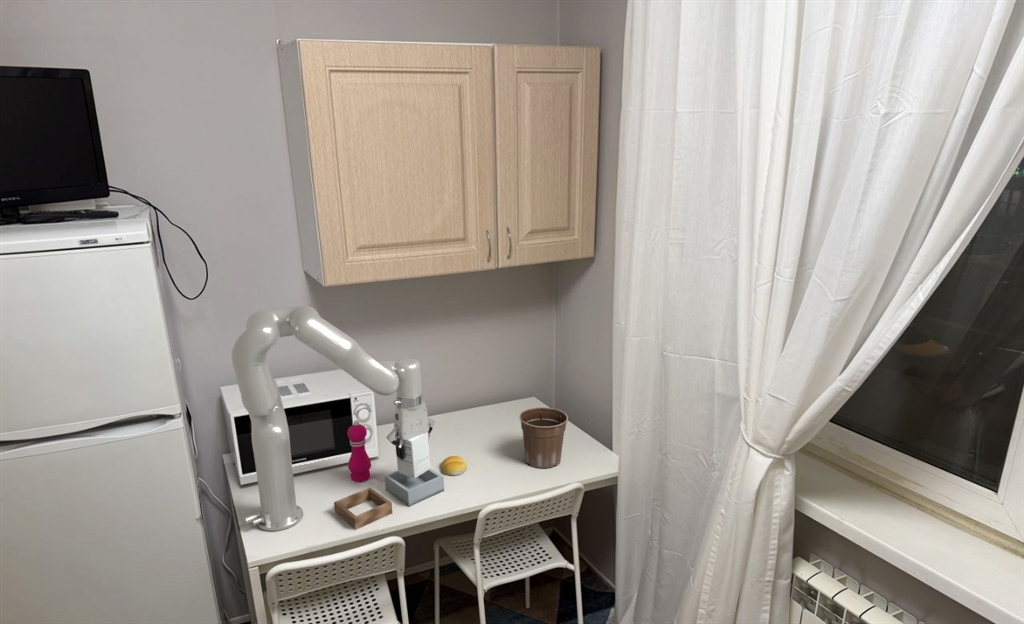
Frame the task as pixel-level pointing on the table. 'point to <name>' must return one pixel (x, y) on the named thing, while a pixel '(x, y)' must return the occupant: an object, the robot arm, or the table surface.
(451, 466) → the bread roll
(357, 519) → the walnut frame
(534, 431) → the plant pot
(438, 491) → the grey bin
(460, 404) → the table surface
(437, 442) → the table surface
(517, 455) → the table surface
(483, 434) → the table surface
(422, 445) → the supplement box
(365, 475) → the pepper mill
